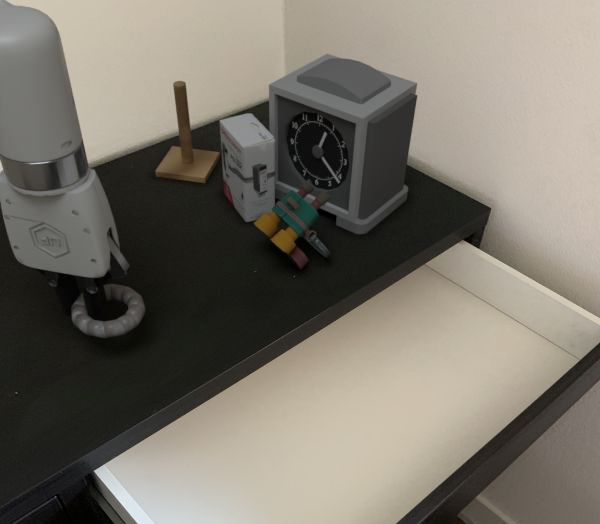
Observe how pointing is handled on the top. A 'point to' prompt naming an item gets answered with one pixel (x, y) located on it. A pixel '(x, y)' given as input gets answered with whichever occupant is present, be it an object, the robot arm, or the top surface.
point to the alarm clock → (343, 137)
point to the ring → (113, 326)
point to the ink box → (248, 165)
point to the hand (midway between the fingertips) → (85, 309)
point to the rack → (186, 148)
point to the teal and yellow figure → (294, 223)
